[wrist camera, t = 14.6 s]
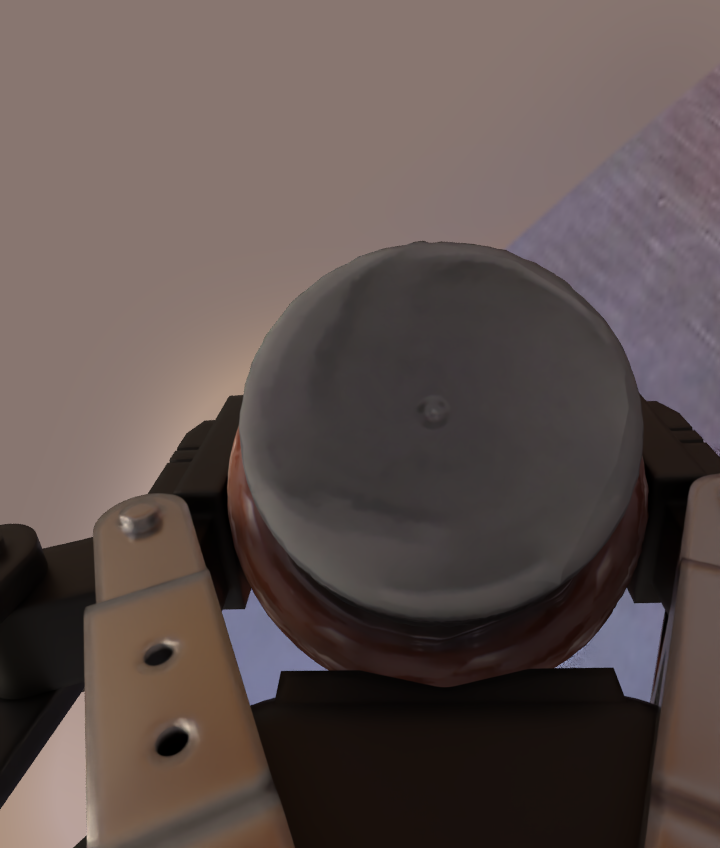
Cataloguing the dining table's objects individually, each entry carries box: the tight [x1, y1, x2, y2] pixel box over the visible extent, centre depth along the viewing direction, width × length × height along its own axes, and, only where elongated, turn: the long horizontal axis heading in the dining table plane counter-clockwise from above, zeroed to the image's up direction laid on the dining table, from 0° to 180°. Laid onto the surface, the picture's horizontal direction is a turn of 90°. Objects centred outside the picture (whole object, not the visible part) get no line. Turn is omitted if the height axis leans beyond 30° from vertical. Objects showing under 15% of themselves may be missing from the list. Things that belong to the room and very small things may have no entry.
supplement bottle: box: [227, 241, 649, 687], centre depth 11 cm, size 6×6×11 cm
